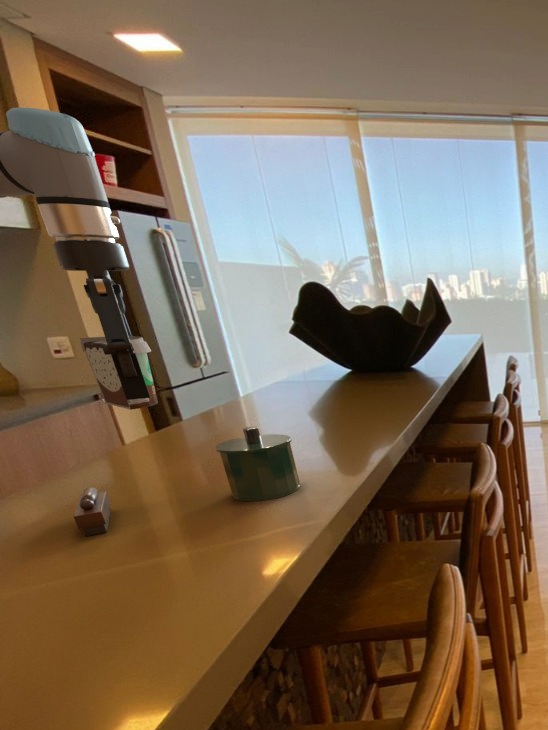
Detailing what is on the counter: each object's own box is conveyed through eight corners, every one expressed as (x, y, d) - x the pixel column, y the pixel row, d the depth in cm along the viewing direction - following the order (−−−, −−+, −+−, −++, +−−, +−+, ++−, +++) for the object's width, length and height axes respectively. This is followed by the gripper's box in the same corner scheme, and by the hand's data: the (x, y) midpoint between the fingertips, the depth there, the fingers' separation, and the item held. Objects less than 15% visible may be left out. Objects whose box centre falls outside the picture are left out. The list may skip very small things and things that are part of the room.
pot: (230, 490, 101) (216, 444, 98) (294, 478, 107) (283, 434, 104) (236, 505, 94) (221, 456, 90) (305, 492, 100) (293, 445, 96)
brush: (88, 514, 91) (77, 485, 89) (113, 509, 92) (102, 481, 91) (82, 538, 82) (69, 506, 80) (109, 532, 84) (97, 502, 82)
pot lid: (214, 447, 98) (208, 427, 97) (286, 437, 104) (281, 417, 103) (220, 461, 90) (213, 439, 89) (297, 449, 97) (292, 428, 95)
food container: (182, 403, 90) (161, 338, 86) (134, 410, 85) (111, 341, 81) (147, 396, 96) (127, 334, 92) (101, 402, 91) (77, 337, 87)
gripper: (118, 236, 74) (171, 400, 82) (123, 246, 92) (166, 381, 100) (39, 233, 70) (103, 407, 78) (60, 245, 87) (110, 386, 95)
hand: (139, 393), depth 89 cm, fingers closed on food container, 12 cm apart
